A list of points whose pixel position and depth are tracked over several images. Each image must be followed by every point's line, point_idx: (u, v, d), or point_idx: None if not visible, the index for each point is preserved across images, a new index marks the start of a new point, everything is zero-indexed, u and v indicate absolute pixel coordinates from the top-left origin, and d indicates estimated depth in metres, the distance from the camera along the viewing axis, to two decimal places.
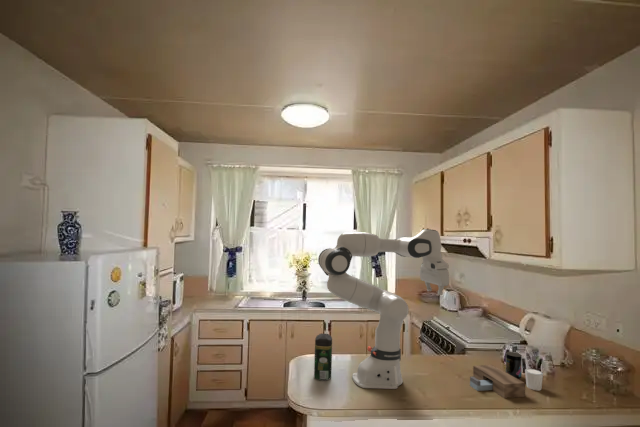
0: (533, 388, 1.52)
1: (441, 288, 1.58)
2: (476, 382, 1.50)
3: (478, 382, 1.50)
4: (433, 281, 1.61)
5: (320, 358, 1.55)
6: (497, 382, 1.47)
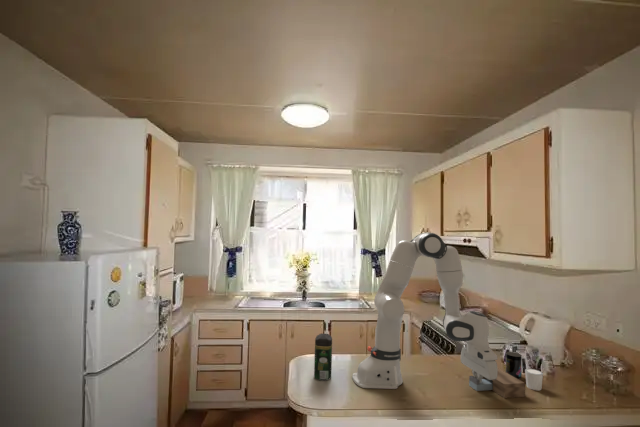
0: (533, 388, 1.52)
1: (481, 376, 1.50)
2: (475, 382, 1.50)
3: (477, 381, 1.50)
4: (478, 370, 1.49)
5: (320, 358, 1.55)
6: (497, 382, 1.47)
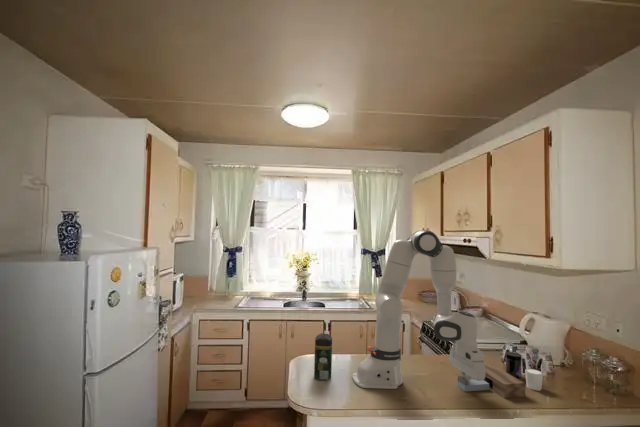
0: (533, 388, 1.52)
1: (469, 377, 1.49)
2: (464, 382, 1.49)
3: (466, 382, 1.48)
4: (466, 371, 1.48)
5: (320, 358, 1.55)
6: (497, 382, 1.47)
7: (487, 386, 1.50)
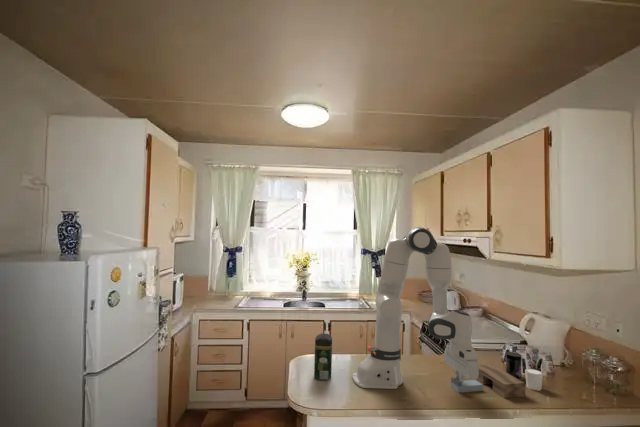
0: (533, 388, 1.52)
1: (462, 376, 1.48)
2: (457, 383, 1.48)
3: (459, 383, 1.47)
4: (460, 370, 1.47)
5: (320, 358, 1.55)
6: (497, 382, 1.47)
7: (480, 387, 1.50)
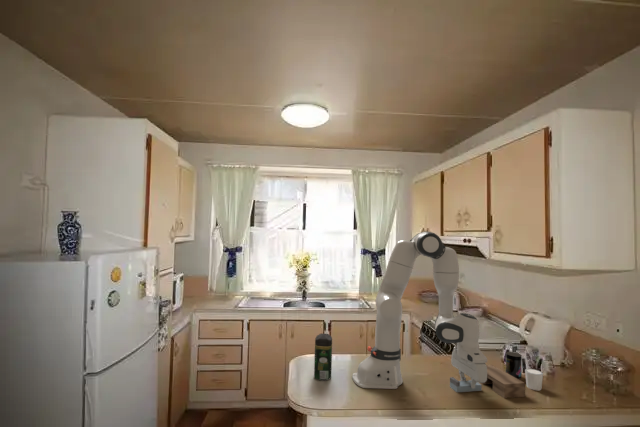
0: (533, 388, 1.52)
1: (474, 381, 1.47)
2: (456, 383, 1.48)
3: (458, 383, 1.48)
4: (468, 373, 1.48)
5: (320, 358, 1.55)
6: (497, 382, 1.47)
7: (479, 387, 1.50)
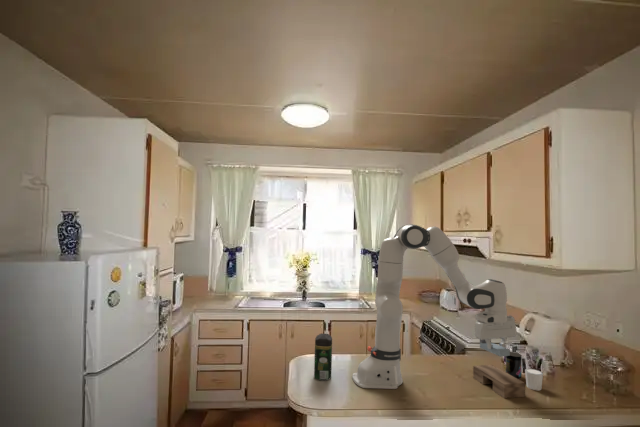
0: (533, 388, 1.52)
1: (487, 341, 1.53)
2: None
3: (480, 339, 1.60)
4: None
5: (320, 358, 1.55)
6: (497, 382, 1.47)
7: (498, 352, 1.50)
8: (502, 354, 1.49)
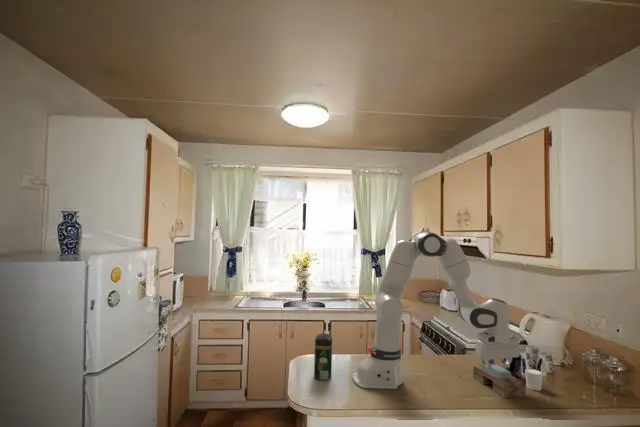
0: (533, 388, 1.52)
1: (485, 360, 1.54)
2: None
3: (483, 360, 1.60)
4: None
5: (320, 358, 1.55)
6: (497, 382, 1.47)
7: (499, 374, 1.50)
8: (503, 376, 1.49)
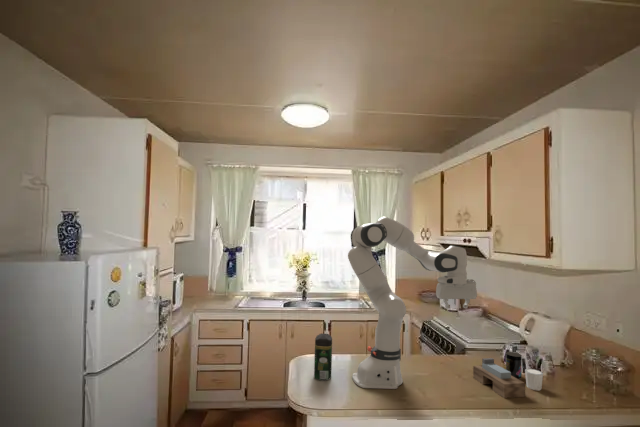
0: (533, 388, 1.52)
1: (444, 301, 1.67)
2: None
3: (483, 360, 1.60)
4: None
5: (320, 358, 1.55)
6: (497, 382, 1.47)
7: (499, 374, 1.50)
8: (503, 376, 1.49)
